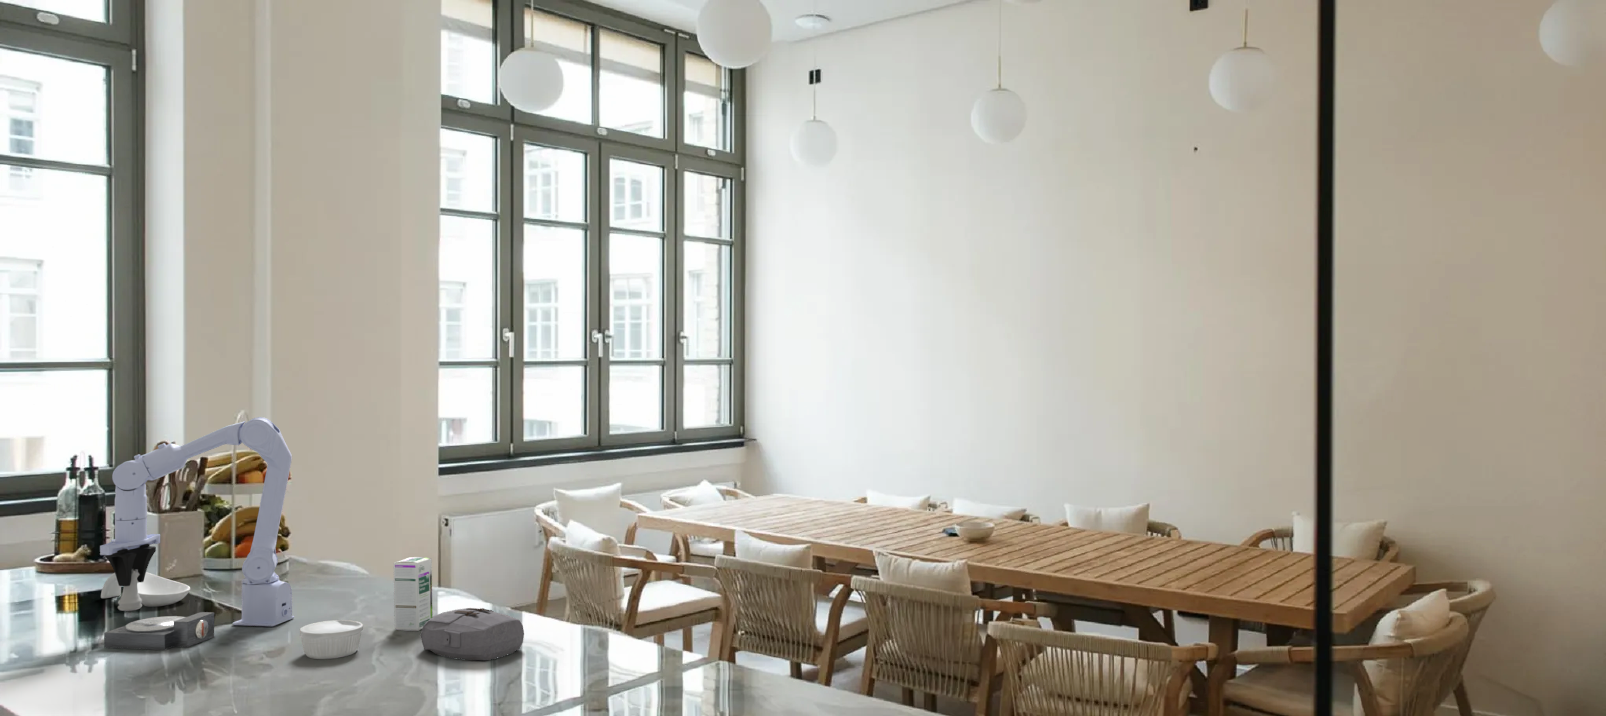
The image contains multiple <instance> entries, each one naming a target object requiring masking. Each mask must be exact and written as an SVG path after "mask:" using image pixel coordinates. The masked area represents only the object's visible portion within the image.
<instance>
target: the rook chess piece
mask: <svg viewBox="0 0 1606 716" xmlns="http://www.w3.org/2000/svg"><path fill="white" fill-rule="evenodd" d="M139 575H140V574H139V573H138V569H135V571H134V569H132V576H131V583H130V586H123V588H122V589H123V590H122V593H121V596H120V599H119V600H118V602H117V604H118V606H117V609H118V610H119V611H123V612H128V611H136V610H139V609H141V608H142V607H143V604H141V602H142V599H141V598H140V595H139V594H138V589H137V583H138V580H137V577H138V576H139Z"/></svg>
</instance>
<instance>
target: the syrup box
mask: <svg viewBox="0 0 1606 716" xmlns="http://www.w3.org/2000/svg"><path fill="white" fill-rule="evenodd" d="M432 562H433V560H432V558H431V557H424V556H413V557H409V556H408V557H407V558H403V559H402V560H399V561H398V560H397V561H395V562H393V603H394V604H393V609H394V610H393V611H394V612H393V614H394V615H393V616H394V618H393V619H394V624H393V625H394V630H398V631H404V632H405V631H409V632H412V631H413V632H419V631H420V630H422V628H423V626H424V624H425V623H426V622H427V621H428V620H430V619H431V618H432V617H433V570H432V568H433V567H432Z"/></svg>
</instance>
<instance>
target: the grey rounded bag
mask: <svg viewBox="0 0 1606 716" xmlns="http://www.w3.org/2000/svg"><path fill="white" fill-rule="evenodd" d="M419 635H420V639H421V643H422V646H423V647H422V648H423V649H424V650H425V651H431V652H432V653H434V654H436V655H438V656H442V657H445V658H449V657H450V658H449V659H454V658H457V659H458V660H462V659H465V661H492V660H491V659H494V660H496V659H495V658H497V657H501V658H503V657H502V656H504V655H507V654H510V653H512V654H514V653H515V652H514V651H516V650H517V651H519V650H520V649H521V646H522V645H523V643H524V639H525V638H524V637H525V630H524V625H523V624H522V621H520V620H519V619H517V618H515V617H513V616H511V615H508V614H503V613H499V612H496V611H494V610H493V609H485V608H483V607H482V608H481V607H480V608H475V607H467V608H459V609H458V608H457V609H453V610H449V611H448V610H447V611H443V612H442V613H438V614H436V615H432V618H431V619H430V620H428V621H427V622H426V623H425V624H424V626H423V628H422V629H421V632H420V634H419ZM517 651H516V652H517ZM513 652H514V653H513ZM510 655H511V654H510ZM507 656H508V655H507ZM504 657H505V656H504ZM457 659H456V660H457ZM497 659H498V658H497Z"/></svg>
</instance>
